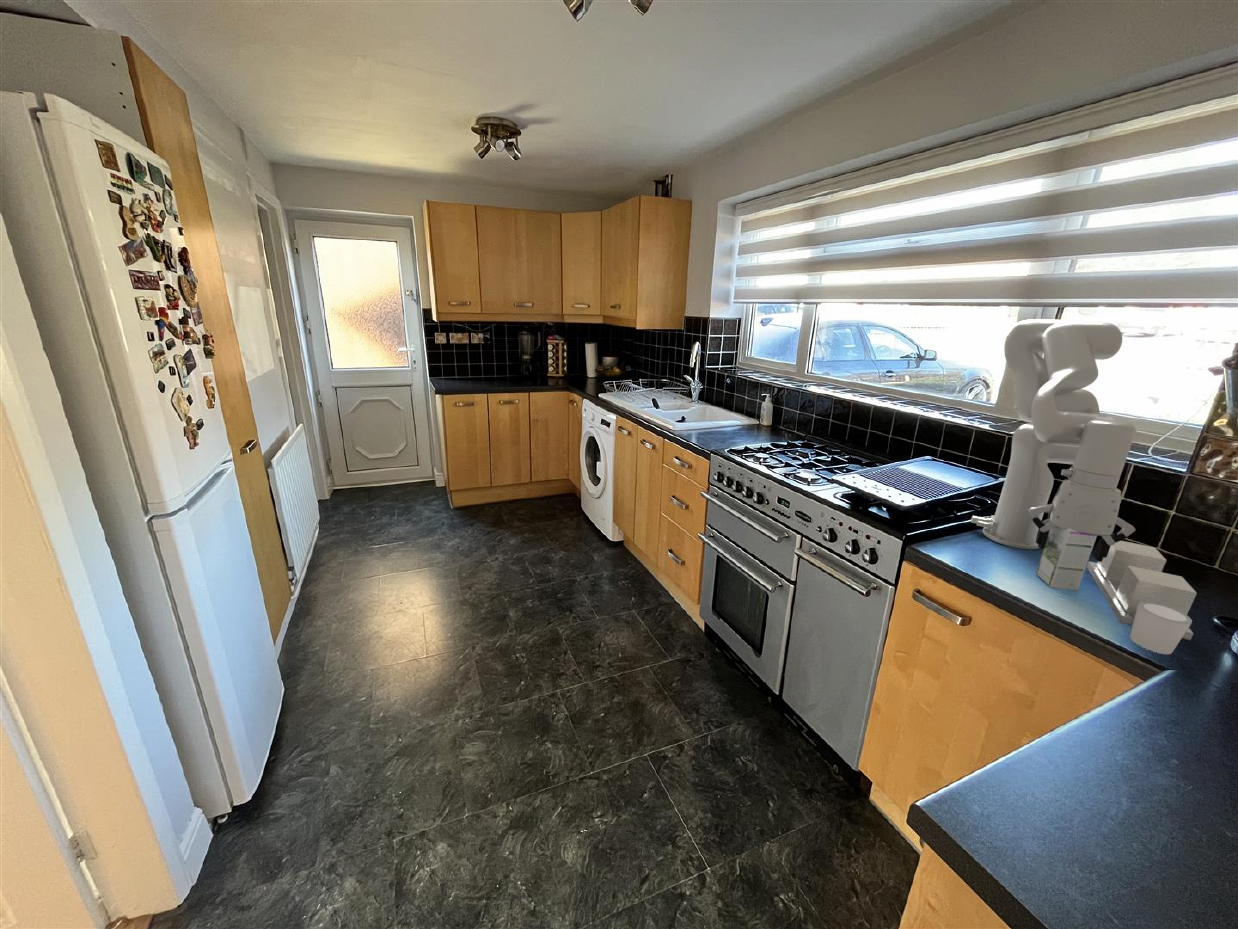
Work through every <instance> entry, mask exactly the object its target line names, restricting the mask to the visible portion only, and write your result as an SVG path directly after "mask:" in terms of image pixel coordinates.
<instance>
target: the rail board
mask: <svg viewBox="0 0 1238 929" xmlns="http://www.w3.org/2000/svg"><path fill="white" fill-rule="evenodd" d="M1166 563H1167V559H1166V558H1165V557H1164V556H1163V555H1162V554H1161V552H1160V551H1159V549H1157V548H1156V547H1154V546H1150V545H1146V544H1139V543H1134V542H1129V541H1126V540H1125V541H1124V540H1122V541H1119V542H1116V543H1115V544H1114V545H1111V546H1110V549H1109V552H1108V555H1107V557H1106V558H1105V557H1103V560H1102V562H1099V561H1098V560H1097V562H1094V561H1089V560H1088V563H1087V565H1086V568H1087V570H1088V572H1089V574H1090V575H1091V577H1092V579H1093V580H1094V581H1095V582H1094V583H1095V584H1096V585H1097V586H1098V589H1099V590H1100V592H1101V594H1102V595H1103V597H1104V599H1105V601H1106V602H1107V604H1108V605H1109V607H1110V609H1111V610H1112V612H1113V614H1114V615H1115V617H1116V619H1117V620H1118V622H1119V623H1122V624H1126V625H1130V626H1133V622H1134V619H1135V615H1136V611H1137V607H1138V604H1139V602H1153V603H1158V604H1162V605H1165V606H1168V607H1171V608H1174V609H1176V610H1178V611H1180V612H1182V613H1184V614H1185V615H1187V616H1188V613H1189V612H1190V609H1191V607H1192V604H1193V603H1194V601H1195V598H1196V596H1197V591H1196V590H1195V589H1194V588H1193V587H1192V585H1190V584H1189V582H1187V580H1186V579H1185V578H1184V577H1183V576H1180V575H1176V574H1171V573H1167V572H1166V573H1165V572H1163V570H1164V567H1165V564H1166ZM1193 636H1194V632H1193V630H1191V628H1190V627H1189V628H1188V629H1187V631H1186V632H1185V634H1184V635H1183V637H1182V638H1181V639H1183V640H1187V641H1191V640H1192V638H1193Z"/></svg>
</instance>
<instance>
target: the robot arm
mask: <svg viewBox="0 0 1238 929" xmlns="http://www.w3.org/2000/svg"><path fill="white" fill-rule="evenodd" d="M1122 345H1123V333H1122V332H1121V329H1119V327H1118V326H1117V325H1116V324H1113V323H1110V322H1100V321H1099V322H1097V321H1088V320H1075V319H1074V320H1073V319H1072V320H1070V319H1050V318H1049V319H1047V318H1046V319H1045V318H1036V319H1034V318H1033V319H1026V320H1021V321H1018V322H1016V323H1014V324H1013V325H1012V326H1011V327H1010V328H1009V330H1008V331H1007V333H1006V335H1005V341H1004V347H1003V348H1004V358H1005V361H1006V364H1007V366H1008V368H1009V371H1010V372H1011V376H1012V381H1013V390H1014V391H1013V392H1014V402H1015V409H1016V413H1017V416H1018V418H1019V419H1021V420H1022V421H1023V422H1028V423H1025V424H1021V425H1020V426H1019V427H1017V428H1016V430H1014V433H1013V435H1012V440H1011V451H1010V452H1011V453H1010V460H1009V463H1008V468H1007V471H1006V475H1005V479H1004V482H1003V486H1002V488H1001V493H1000V497H999V499H998V503H997V506H996V509H995V510H996V511H995V513H994V515H992V514H991V516H990V517H986V518H985V517H981V516H977V515H972V516H971V520H970V523H973V524H976V526H978V527H981V528H982V527H983V529H982V534H983V535H984V536H986V538H988V539H989V540H991V541H994V542H996V543H999V544H1001V545H1004V546H1007V547H1011V548H1016V549H1021V550H1037V549H1039V550H1044V548H1045V545H1046V542H1047V539H1048V536H1049V531H1050V529H1052V528H1054V527H1058V528H1061V529H1072V530H1075V531H1078V532H1082V533H1087V534H1092V535H1097V537H1098V536H1099V537H1102V538H1101V539H1099V540H1098V541H1097V544H1096V546H1095V547H1096V548H1095V551H1094V553H1093V557H1094V558H1095V560H1096V561H1097V562H1098V561H1099V562H1102V560H1103V557H1105V558H1106V557H1107V555H1108V552H1109V549H1110V546H1111V545H1114V544H1115V543H1116V542H1119V541H1124V540H1126V538H1127V537H1129V536H1130V535H1132V534H1133V533H1134V532H1135V531H1136V528H1135V527H1134V525H1132V524H1130V523H1128V522H1126V521H1125V520H1124V519H1122V518H1120V517H1118V516H1119V510H1120V507H1121V506H1120V504H1121V499H1122V497H1121V496H1122V491H1121V490H1120V489H1119V488H1117V487H1118V485H1119V481H1120V478H1121V475H1122V472H1123V470H1124V467H1125V464H1126V461H1127V458H1128V455H1129V452H1130V450H1131V448H1132V447H1131V446H1132V443H1133V442H1134V438H1135V436H1136V427H1135V426H1134V425H1133V423H1132V424H1131V423H1129V422H1125V421H1120V420H1118V419H1117V417H1114V416H1111V415H1109V414H1104V413H1103V414H1102V413H1101V412H1100V405H1099V402H1098V399H1097V396H1095V395H1094V394H1093V393H1092V392H1091V391H1089V390H1087V389H1084V388H1087V387H1089V386H1090V385H1092V384H1093V383H1094V382H1095V381H1096V380H1097V379H1098V377H1099V369H1098V366H1097V360H1101V361H1102V360H1109V359H1111V358H1113V357H1115V356H1116V354H1117V353H1118V352H1119V351H1120V349H1121V347H1122ZM1040 353H1041V354H1043V357H1042V356H1041V355H1040ZM1049 463H1056V464H1064V465H1065V464H1067V465H1071V466H1070V468H1067V469H1065V468H1063V469H1061V471H1060V472H1061V473H1060V475H1061V476H1065V477H1067V478H1068V479H1064V480H1063V481H1062V482H1061V484H1060V486H1059V488H1058V489H1057V492H1056V493H1055V495H1054V497H1053V500H1052V502H1051V503H1049V504H1048V501H1049V499H1050V497H1051V496H1050V495H1051V492H1052V489H1053V486H1054V481H1055V480H1054V475H1053V473H1052V472H1051V470H1050V468H1049V467H1048V464H1049ZM1044 513H1047V519H1045V520H1043V516H1044ZM1116 525H1117V526H1119V528H1121V529H1120V531H1116V532H1114V530H1115V527H1116ZM1113 532H1114V533H1113Z"/></svg>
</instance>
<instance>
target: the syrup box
mask: <svg viewBox="0 0 1238 929" xmlns="http://www.w3.org/2000/svg"><path fill="white" fill-rule="evenodd" d="M1048 533H1049V536H1048V539H1047V542H1046V545H1045V548H1044V549H1043V551H1042V554H1041V556H1040V560H1039V562H1038V567H1037V568H1036V572H1035V575H1036V576H1037V577H1038V578H1039V579H1040V580H1042V581H1043V582H1044V583H1045V584H1046V585H1047V587H1050V588H1054V589H1060V590H1068V591H1078V590H1079V589H1080V585H1081V582H1082V579H1083V576H1084V574H1085V571H1086V568H1087V565H1088V562H1089V560H1090V557H1091V555H1092V554H1091V553H1092V551H1093V548H1094V545H1095V543H1096V540H1097V537H1098V535H1092V534H1087V533H1082V532H1078V531H1075V530H1072V529H1061V528H1058V527H1054V528H1052V529H1050V530H1049V531H1048Z"/></svg>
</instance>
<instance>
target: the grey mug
mask: <svg viewBox="0 0 1238 929" xmlns="http://www.w3.org/2000/svg"><path fill="white" fill-rule="evenodd" d="M1192 622H1193V620H1192V619H1191V618H1190V616H1189V615H1188V614H1187V615H1185V614H1184V613H1182V612H1180V611H1178V610H1176V609H1174V608H1171V607H1168V606H1165V605H1162V604H1158V603H1153V602H1139V604H1138V607H1137V611H1136V615H1135V619H1134V622H1133V625H1131V626H1132V627H1131V630H1130V634H1129V639H1130V638H1131V639H1130V641H1131V640H1132V641H1131V642H1133V641H1134V642H1135V643H1136V644H1135V643H1134V642H1133V643H1134V644H1135V645H1137V644H1139V645H1141V646H1142V647H1144V648H1146V649H1145V650H1147V651H1149V650H1151V651H1150V652H1152V651H1153V653H1156V652H1157V654H1160V655H1161V654H1162V655H1171V654H1172V653H1173V652H1174V651H1175V649H1176V648H1177V646H1178V644H1179V643H1180V641H1181V640H1182V639H1183V638H1182V637H1183V635H1184V634H1185V632H1186V631H1187V629H1188V628H1189V629H1190V626H1191V625H1192V624H1193V623H1192ZM1139 645H1138V646H1139ZM1142 647H1141V648H1142ZM1144 648H1143V649H1144Z"/></svg>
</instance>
